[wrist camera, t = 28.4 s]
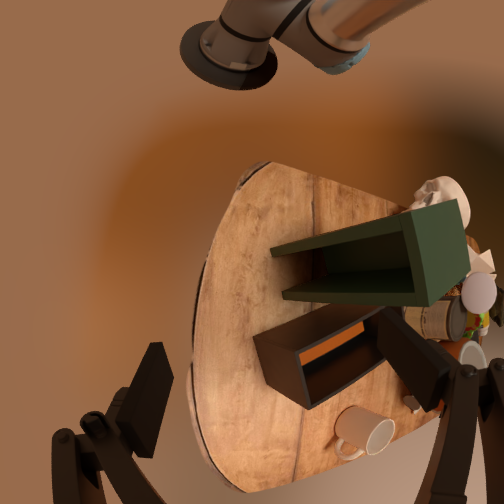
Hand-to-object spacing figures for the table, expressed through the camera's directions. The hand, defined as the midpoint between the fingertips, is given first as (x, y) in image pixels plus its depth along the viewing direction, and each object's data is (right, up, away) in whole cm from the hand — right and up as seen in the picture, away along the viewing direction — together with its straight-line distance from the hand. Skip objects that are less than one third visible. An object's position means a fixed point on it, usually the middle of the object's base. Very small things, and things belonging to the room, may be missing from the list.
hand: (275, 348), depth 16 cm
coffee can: (+38, -11, +46) cm, 61 cm away
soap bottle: (+47, -3, +30) cm, 56 cm away
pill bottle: (+81, -14, +61) cm, 102 cm away
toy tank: (+89, -9, +58) cm, 106 cm away
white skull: (+35, +9, +46) cm, 59 cm away
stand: (+8, +3, +34) cm, 36 cm away
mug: (+18, -32, +35) cm, 51 cm away
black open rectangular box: (+10, -10, +34) cm, 36 cm away
